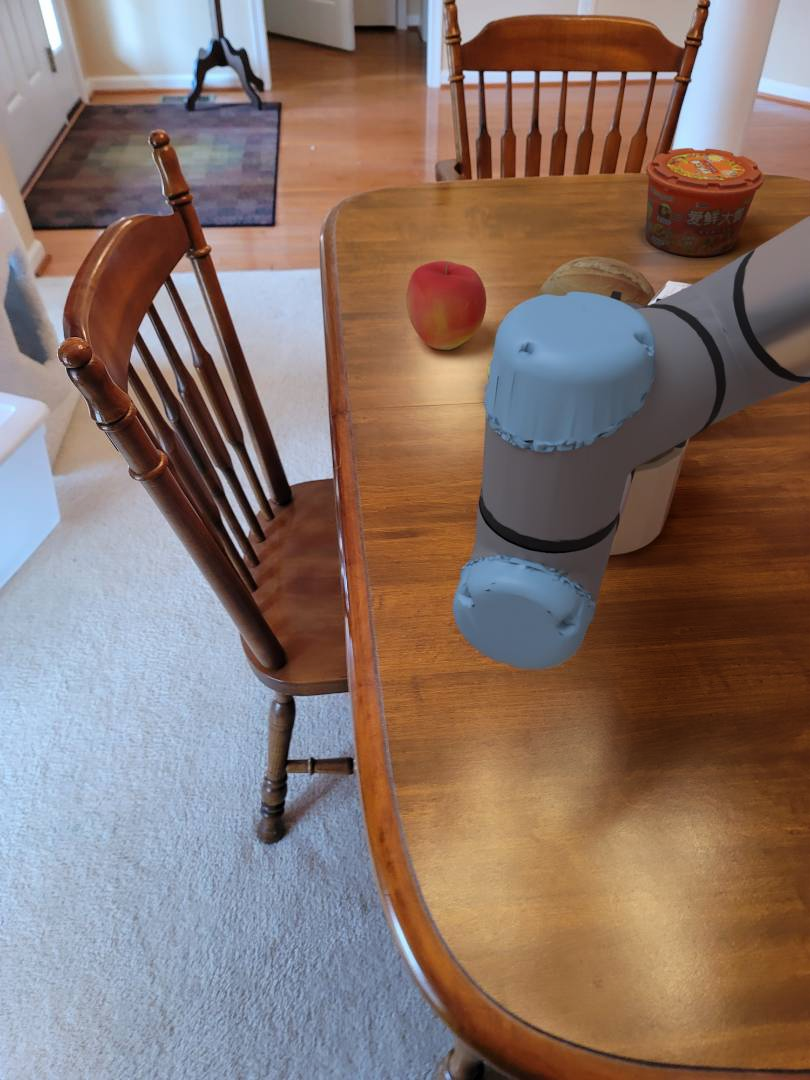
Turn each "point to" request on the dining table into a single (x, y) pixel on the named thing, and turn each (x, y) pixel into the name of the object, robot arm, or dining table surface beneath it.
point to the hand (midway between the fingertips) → (636, 310)
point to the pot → (648, 501)
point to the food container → (699, 200)
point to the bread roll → (600, 280)
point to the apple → (445, 303)
